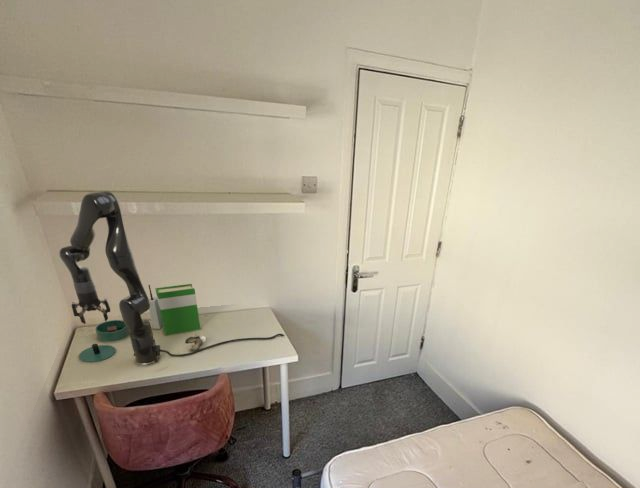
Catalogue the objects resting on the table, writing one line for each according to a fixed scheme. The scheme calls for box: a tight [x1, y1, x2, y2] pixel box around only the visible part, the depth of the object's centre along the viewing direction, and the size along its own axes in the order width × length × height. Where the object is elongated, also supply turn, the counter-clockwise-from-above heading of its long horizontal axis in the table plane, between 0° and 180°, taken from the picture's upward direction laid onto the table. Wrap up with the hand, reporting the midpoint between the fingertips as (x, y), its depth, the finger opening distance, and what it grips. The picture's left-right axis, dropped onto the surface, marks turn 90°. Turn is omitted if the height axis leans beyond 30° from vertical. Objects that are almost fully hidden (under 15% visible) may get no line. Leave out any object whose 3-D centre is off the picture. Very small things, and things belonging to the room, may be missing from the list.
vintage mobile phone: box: [148, 284, 163, 330], centre depth 206 cm, size 4×5×25 cm
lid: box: [78, 343, 116, 363], centre depth 184 cm, size 15×15×6 cm
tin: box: [95, 319, 130, 343], centre depth 200 cm, size 14×14×6 cm
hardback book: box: [154, 283, 201, 336], centre depth 207 cm, size 18×7×24 cm, turn 122°
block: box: [107, 326, 118, 333], centre depth 200 cm, size 4×4×4 cm
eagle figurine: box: [184, 333, 207, 352], centre depth 197 cm, size 8×7×9 cm
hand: (95, 321), depth 183 cm, fingers open, 8 cm apart
